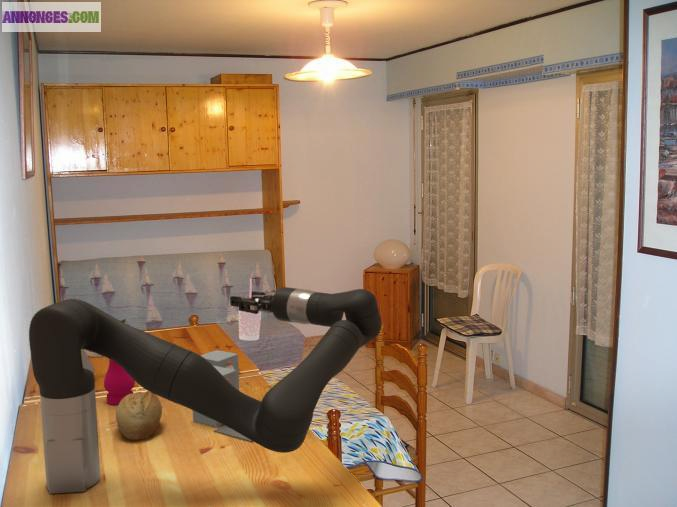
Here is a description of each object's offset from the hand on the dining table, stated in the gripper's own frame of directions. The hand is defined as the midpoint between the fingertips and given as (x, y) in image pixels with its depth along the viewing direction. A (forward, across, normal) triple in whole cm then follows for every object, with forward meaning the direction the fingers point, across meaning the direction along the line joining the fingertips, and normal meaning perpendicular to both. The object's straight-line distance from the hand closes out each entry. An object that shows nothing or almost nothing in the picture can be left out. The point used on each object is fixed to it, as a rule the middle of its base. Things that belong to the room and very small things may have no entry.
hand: (241, 298), depth 161 cm
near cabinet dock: (-6, -10, -26) cm, 29 cm away
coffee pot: (+48, -7, -26) cm, 55 cm away
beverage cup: (-3, -1, -9) cm, 10 cm away
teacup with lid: (+66, +12, -26) cm, 72 cm away
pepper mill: (+28, -14, -26) cm, 40 cm away
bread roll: (+10, -23, -26) cm, 36 cm away
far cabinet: (+8, 0, -26) cm, 27 cm away
